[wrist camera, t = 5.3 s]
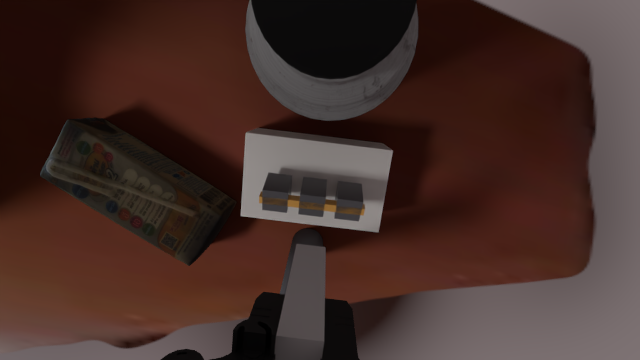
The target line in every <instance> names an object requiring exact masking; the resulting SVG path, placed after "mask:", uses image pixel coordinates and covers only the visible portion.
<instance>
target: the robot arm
mask: <svg viewBox="0 0 640 360" xmlns="http://www.w3.org/2000/svg"><path fill="white" fill-rule="evenodd" d="M325 259H326V247H320V246H311V245H303V244H296V249H295V253H294V258H293V262H292V267H291V271H290V276H289V280H288V285H287V289H286V294H277V293H269V292H263V293H262V294H261V295H260V296H258V297H257V298H256V300H255V303H254V306H253V309H252V311H251V314H250V317H249V319H248V320H245V321H242V322H241V323H239V324H238V325H237V326H236V327H235V328H234V330H233V342H232V343H233V344H232V352H231V353H230V354H229V355H226V356H224V357H221V358H217V359H211V360H359V358H358V353H357V345H356V337H355V329H354V320H353V311H352V308H351V307H350V305H349V304H348V302H347V301H343V300H334V299H326V298H325ZM161 360H204V359H203V357H202V356H201V354H200V353H198V352H197V351H195V350H189V349H184V350H177V351H175V352H172V353H170V354H168V355H167V356H165V357H164V358H162V359H161Z"/></svg>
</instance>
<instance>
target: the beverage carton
mask: <svg viewBox="0 0 640 360" xmlns="http://www.w3.org/2000/svg"><path fill="white" fill-rule="evenodd" d="M40 176H41V177H42V178H44V179H46V180H47V181H49V182H51V183H52V184H54V185H55V186H57V187H58V188H60V189H62V190H63V191H65V192H67V193H68V194H70V195H71V196H73V197H74V198H76V199H78V200H79V201H81V202H83V203H85V204H86V205H88V206H89V207H91V208H92V209H94V210H96V211H98V212H99V213H101V214H103V215H104V216H106V217H108V218H109V219H111V220H112V221H114V222H115V223H117V224H119V225H120V226H122V227H124V228H125V229H127V230H129V231H131V232H132V233H134V234H136V235H137V236H139V237H140V238H142V239H144V240H145V241H147V242H149V243H151V244H153V245H154V246H156V247H157V248H159V249H161V250H162V251H164V252H166V253H168V254H169V255H171V256H173V257H174V258H176V259H178V260H180V261H182V262H184V263H185V264H187V265H188V266H190V265H191V264H192V263H193V262H194V261H195V260H197V259H198V258H199V257H200V255H201V254H202V253H203V252H204V251H205V250H206V249H207V248H208V247H209V245H210V244H211V243H212V242H213V240H214V239H215V238H216V236H217V235H218V233H219V232H220V230H221V229H222V227H223V226H224V224H225V223H226V221H227V219H228V218H229V216H230V214H231V212H232V211H233V209H234V207H235V205H236V201H235V200H233V199H232V198H230V197H229V196H228V195H226V194H224V193H223V192H221V191H220V190H218V189H217V188H215V187H214V186H212V185H211V184H209V183H207V182H206V181H204V180H203V179H201V178H199V177H198V176H196V175H195V174H193V173H191V172H190V171H188V170H187V169H185V168H183V167H182V166H180V165H179V164H177V163H175V162H174V161H172V160H170V159H169V158H167V157H166V156H164V155H162V154H161V153H159V152H158V151H156V150H154V149H153V148H151V147H150V146H148V145H146V144H145V143H143V142H142V141H140V140H138V139H137V138H135V137H133V136H132V135H130V134H128V133H126V132H125V131H123V130H121V129H120V128H118V127H116V126H115V125H113V124H111V123H110V122H108V121H107V120H105V119H102V118H85V119H68V120H67V121H66V123H65V125H64V127H63V129H62V131H61V133H60V135H59V137H58V140H57V142H56V144H55V146H54V147H53V149H52V151H51V153H50V155H49V158H48V159H47V161H46V163H45V165H44V167H43V169H42V171H41V173H40Z"/></svg>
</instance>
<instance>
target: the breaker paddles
mask: <svg viewBox="0 0 640 360" xmlns="http://www.w3.org/2000/svg"><path fill="white" fill-rule="evenodd" d="M291 189H292V175H285V174H277V173H268V175H267V178H266V181H265V184H264V187H263V189H262V191H261V193H260V195H259V203H262V210H267V211H275V212H283V213H287V211H288V207H296V208H299V212H298V214H300V215H309V216H317V217H323V214H324V211H329V212H334V219H342V220H351V221H359V219H360V215H363V216H364V211H365V204H363V192H362V184H360V183H352V182H343V181H338V184H337V190H336V196H335V200H328V199H326V189H327V179H318V178H310V177H303V181H302V187H301V192H300V196H295V195H291Z"/></svg>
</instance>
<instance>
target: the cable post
mask: <svg viewBox="0 0 640 360" xmlns="http://www.w3.org/2000/svg"><path fill="white" fill-rule="evenodd" d="M296 244H303V245H311V246H320V247H323V239H322V237H321V235H320V234H319V233H318V232H317V231H316V230H313V229H310V228H305V229H301V230H299V231H298V232H297V233H296V234H295V235H294V237H293V240H292V244H291V249H290V253H289V257H288V261H287V266H286V270H285V274H284V278H283V282H282V287H281V291H280V294H286V289H287V285H288V280H289V276H290V271H291V267H292V262H293V258H294V253H295V249H296Z"/></svg>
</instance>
